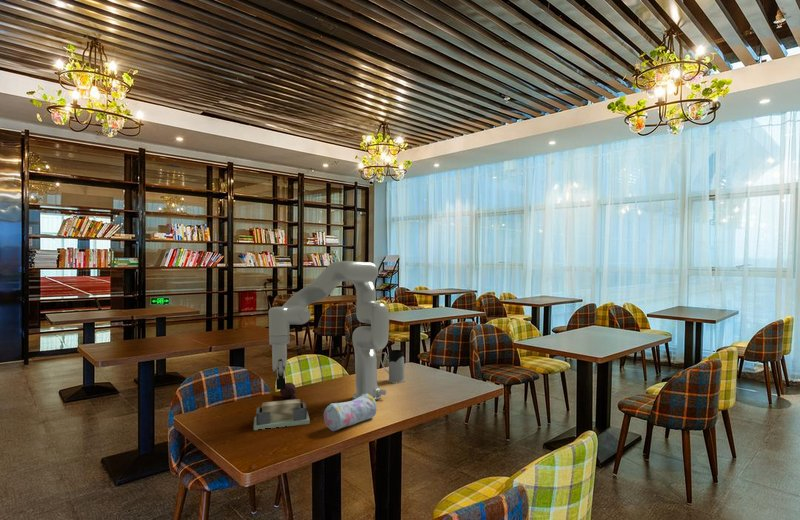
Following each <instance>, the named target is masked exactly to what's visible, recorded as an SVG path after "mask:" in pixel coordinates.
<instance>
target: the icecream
mask: <svg viewBox="0 0 800 520" xmlns="http://www.w3.org/2000/svg"><path fill="white" fill-rule="evenodd" d="M296 393H297V387H296V385H295V384H294V383H293V382H285V389H281V390H279V394H280V395H281V396H282V397H283V398H287V399H291V398H292V400H293V399H298V396H297V395H296Z"/></svg>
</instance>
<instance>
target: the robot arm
mask: <svg viewBox="0 0 800 520" xmlns="http://www.w3.org/2000/svg"><path fill="white" fill-rule="evenodd" d="M378 276H379V269H378V267H377V265H376V264H375V263H373V262H371V261H367V262H366V261H352V260H338V261H337V260H336V261H333V262H330V264H328V265H327V267H326V268H325V269H323V270H322V272H320V273H319V275H318V276H317V277H316V278H315V279H314V280H313V281H312V282H311V283H309V284H307V285H306V286H305V287H303V288H302V289H299V290H298V291H297V292H295V293H294V294H293V295H292V296H291V297H289V298H288V300H286V301H285V303H283V305H282V306H274V307H271V308H269V309H268V337H269V338H268V339H269V342H268V343H269V345H271V354H272V357H271V358H272V363H271V364H272V371H273V372H275V371H276V375H275V379H276V382H275V383H276V384H275V385H276V390H277V391H278V390H279V391H280V390H281V389H285V383H286V374H285V371H286V370H287V363H288V362H287V359H288V357H287V356H288V352H287V351H288V350H287V349H288V347H287V346H288V344H290V342H291V340H290V339H291V337H290V335H291V334H290V325H304V324H306V323H308V321H309V320H310V318H311V317H312V316H311V315H312V314H311V311H310V309H309V308H308V306H310V305H311V304H314V303H316V302H319V301H322V300H324V299H326V298H328V297H329V296H330V294H331V293H332V292H333V291H334V290H335V289H336V288H337V287H338V286H339V284H340V283H342V282H351V283H352V285H354V288H355V291H356V315H355V316H356V318H357V320H358V322H360V323H364V324H370V326H368V325H367V326H364V325H362V326H361V325H360V326H358V327H357V328H355V329H354V331H353V332H352V334H351V335H352V336H351V337H352V339H351V341H352V344H353V349H354V362H355V363H354V365H355V366H354V367H355V369H354V370H355V371H354V373H355V393H354V394H353V395H352V400H354V399H356V398H358V397H359V396H360V395H362V394H366V393H367V394H369V395H371V396H372V397H373V398H374V399H375V401H377V400H380V399H381V397H382V396H386V395H387V390H386V389H381V388H380V385H378V365H377V363H378V361H377V352H376V351H381V350H383V349H385V348H386V346H387V344H388V342H389V335H390V334H389V333H390V332H389V331H390V328H389V327H390V313H389V312H390V311H389V309H388V307H387V306H386V304H385V303H382V302H377V293H376V287H375V284H374V281H375V280H377V279H378Z"/></svg>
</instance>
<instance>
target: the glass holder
mask: <svg viewBox="0 0 800 520" xmlns="http://www.w3.org/2000/svg"><path fill="white" fill-rule="evenodd" d="M382 354H384V355H385V356H386V361H387V362H388V369H387V368H386V367H385V366H384V364H383V360H382ZM404 356H405V355H404V350H402V349H391V350H388V354H387V352H381V353H380V356H379V360H380V363H381V366H382V368H383V369H384V370H385V371H386V372H387V373H388V381H389V382H388V383H390V382H395V383H394V384H399V383H398V382H402V383H405V382H406V381H405V380H406V378H405V377H406V376H405V357H404ZM404 381H405V382H404ZM396 382H397V383H396Z"/></svg>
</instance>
